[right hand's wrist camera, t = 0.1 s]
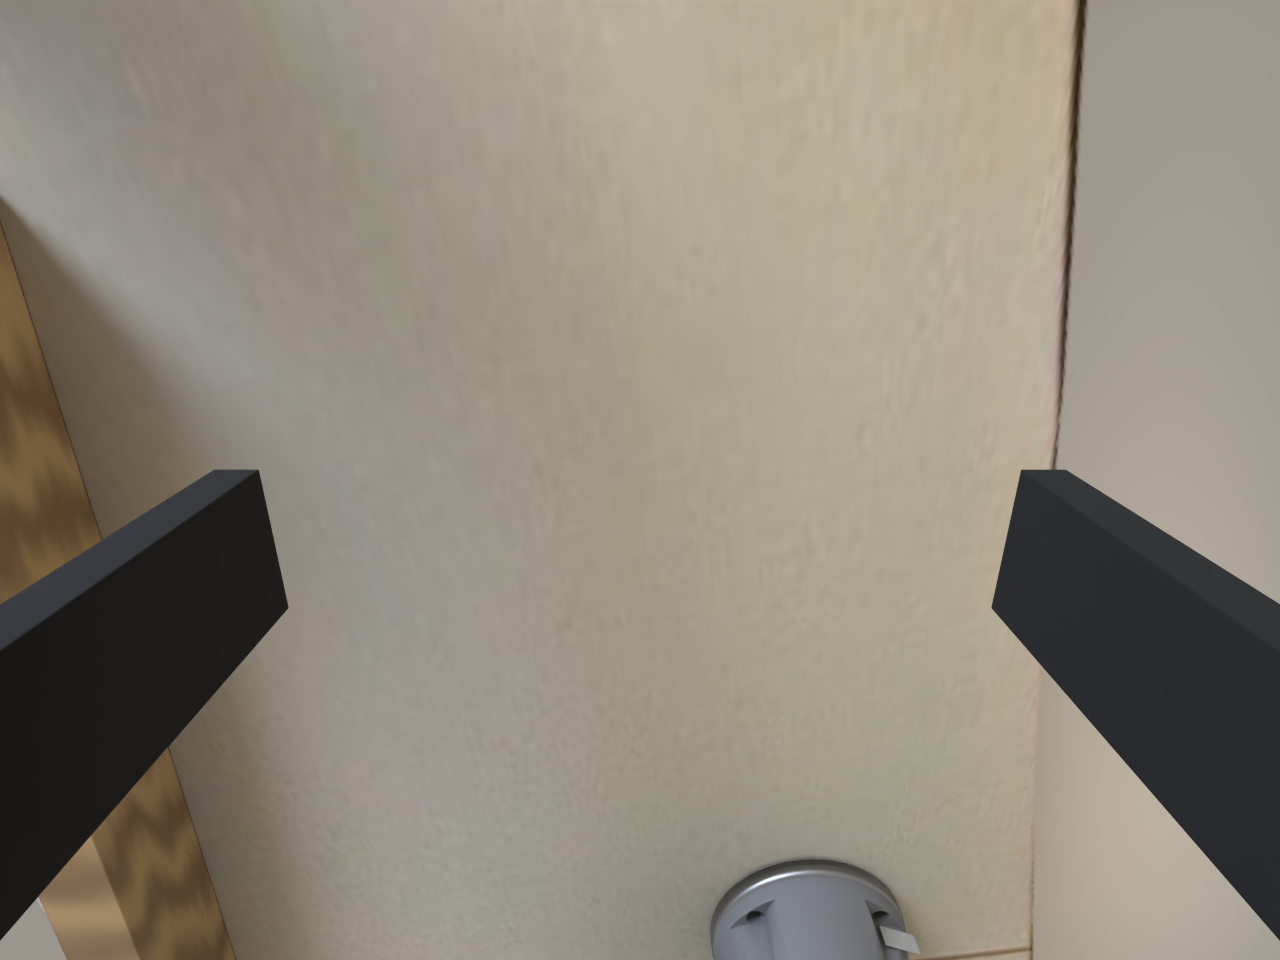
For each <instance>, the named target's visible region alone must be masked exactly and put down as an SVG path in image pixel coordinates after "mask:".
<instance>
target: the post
mask: <svg viewBox="0 0 1280 960" xmlns="http://www.w3.org/2000/svg"><path fill="white" fill-rule="evenodd" d="M100 541H102V540H101V536H100V533H99V530H98V527H97V524H96V521H95V518H94V515H93V511H92V508H91V505H90V502H89V499H88V496H87V493H86V490H85V486H84V483H83V480H82V477H81V474H80V471H79V468H78V465H77V461H76V458H75V455H74V452H73V449H72V446H71V443H70V440H69V436H68V433H67V430H66V427H65V424H64V421H63V418H62V415H61V411H60V408H59V405H58V402H57V399H56V396H55V393H54V390H53V386H52V383H51V380H50V377H49V374H48V371H47V368H46V365H45V361H44V358H43V355H42V352H41V349H40V346H39V343H38V340H37V336H36V333H35V330H34V327H33V324H32V321H31V318H30V315H29V311H28V308H27V305H26V302H25V299H24V296H23V293H22V290H21V286H20V283H19V280H18V277H17V274H16V271H15V268H14V265H13V261H12V258H11V255H10V252H9V249H8V246H7V243H6V239H5V236H4V233H3V230H2V227H1V224H0V604H2V603H3V602H5V601H6V600H8V599H9V598H11V597H13V596H14V595H16V594H17V593H19V592H21V591H22V590H24V589H25V588H27V587H29V586H30V585H32V584H33V583H35V582H37V581H38V580H40V579H41V578H43V577H44V576H46V575H48V574H49V573H51V572H52V571H54V570H56V569H57V568H59V567H60V566H62V565H64V564H65V563H67V562H68V561H70V560H72V559H73V558H75V557H76V556H78V555H79V554H81V553H83V552H84V551H86V550H87V549H89V548H91V547H92V546H94V545H95V544H97V543H99V542H100ZM38 897H39V899H40V901H41V903H42V906H43V908H44V910H45V912H46V914H47V917H48V919H49V921H50V923H51V925H52V928H53V930H54V932H55V934H56V936H57V939H58V941H59V943H60V945H61V947H62V950H63V952H64V954H65V956H66V958H67V960H236V958H235V955H234V952H233V949H232V946H231V943H230V940H229V937H228V933H227V930H226V927H225V924H224V921H223V918H222V915H221V912H220V908H219V905H218V902H217V899H216V896H215V893H214V890H213V887H212V883H211V880H210V877H209V874H208V871H207V868H206V865H205V862H204V858H203V855H202V852H201V849H200V846H199V843H198V840H197V837H196V833H195V830H194V827H193V824H192V821H191V818H190V815H189V812H188V808H187V805H186V802H185V799H184V796H183V793H182V790H181V787H180V783H179V780H178V777H177V774H176V771H175V768H174V765H173V762H172V758H171V755H170V752H169V749H168V747H167V749H166V750H165V751H164V752H163V753H162V754H161V756H160V757H159V758H158V759H157V760H156V761H155V762H154V764H153V765H152V766H151V767H150V768H149V769H148V771H147V772H146V773H145V774H144V775H143V776H142V777H141V779H140V780H139V781H138V782H137V783H136V784H135V786H134V787H133V788H132V789H131V790H130V791H129V792H128V794H127V795H126V796H125V797H124V798H123V799H122V801H121V802H120V803H119V804H118V805H117V806H116V807H115V809H114V810H113V811H112V812H111V813H110V814H109V816H108V817H107V818H106V819H105V820H104V821H103V822H102V824H101V825H100V826H99V827H98V828H97V829H96V831H95V832H94V833H93V834H92V835H91V836H90V837H89V839H88V840H87V841H86V842H85V843H84V844H83V846H82V847H81V848H80V849H79V850H78V851H77V852H76V854H75V855H74V856H73V857H72V858H71V859H70V861H69V862H68V863H67V864H66V865H65V866H64V867H63V869H62V870H61V871H60V872H59V873H58V874H57V876H56V877H55V878H54V879H53V880H52V881H51V882H50V884H49V885H48V886H47V887H46V888H45V889H44V891H43V892H42V893H41V894H40V895H39V896H38Z"/></svg>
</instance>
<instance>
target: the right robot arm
mask: <svg viewBox="0 0 1280 960" xmlns="http://www.w3.org/2000/svg"><path fill="white" fill-rule="evenodd" d="M287 609H288V603H287V599H286V594H285V589H284V585H283V580H282V575H281V571H280V566H279V561H278V557H277V552H276V548H275V543H274V538H273V534H272V529H271V524H270V520H269V515H268V510H267V506H266V501H265V497H264V492H263V487H262V483H261V478H260V473H259V470H213V471H212V472H210V473H208V474H207V475H205V476H204V477H202V478H200V479H199V480H197V481H196V482H194V483H192V484H191V485H189V486H188V487H186V488H185V489H183V490H181V491H180V492H178V493H177V494H175V495H173V496H172V497H170V498H169V499H167V500H165V501H164V502H162V503H161V504H159V505H157V506H156V507H154V508H153V509H151V510H150V511H148V512H146V513H145V514H143V515H142V516H140V517H138V518H137V519H135V520H134V521H132V522H130V523H129V524H127V525H126V526H124V527H122V528H121V529H119V530H118V531H116V532H115V533H113V534H111V535H110V536H108V537H107V538H105V539H103V540H102V541H100V542H99V543H97V544H95V545H94V546H92V547H91V548H89V549H87V550H86V551H84V552H83V553H81V554H79V555H78V556H76V557H75V558H73V559H72V560H70V561H68V562H67V563H65V564H64V565H62V566H60V567H59V568H57V569H56V570H54V571H52V572H51V573H49V574H48V575H46V576H44V577H43V578H41V579H40V580H38V581H37V582H35V583H33V584H32V585H30V586H29V587H27V588H25V589H24V590H22V591H21V592H19V593H17V594H16V595H14V596H13V597H11V598H9V599H8V600H6V601H5V602H3V603H2V604H0V940H1V939H2V938H3V937H4V936H5V934H6V933H7V932H8V931H9V930H10V929H11V927H12V926H13V925H14V924H15V923H16V922H17V920H18V919H19V918H20V917H21V916H22V915H23V914H24V912H25V911H26V910H27V909H28V908H29V907H30V906H31V904H32V903H33V902H34V901H35V900H36V899H37V897H38V896H39V895H40V894H41V893H42V892H43V891H44V889H45V888H46V887H47V886H48V885H49V884H50V882H51V881H52V880H53V879H54V878H55V877H56V876H57V874H58V873H59V872H60V871H61V870H62V869H63V867H64V866H65V865H66V864H67V863H68V862H69V861H70V859H71V858H72V857H73V856H74V855H75V854H76V852H77V851H78V850H79V849H80V848H81V847H82V846H83V844H84V843H85V842H86V841H87V840H88V839H89V837H90V836H91V835H92V834H93V833H94V832H95V831H96V829H97V828H98V827H99V826H100V825H101V824H102V822H103V821H104V820H105V819H106V818H107V817H108V816H109V814H110V813H111V812H112V811H113V810H114V809H115V807H116V806H117V805H118V804H119V803H120V802H121V801H122V799H123V798H124V797H125V796H126V795H127V794H128V792H129V791H130V790H131V789H132V788H133V787H134V786H135V784H136V783H137V782H138V781H139V780H140V779H141V777H142V776H143V775H144V774H145V773H146V772H147V771H148V769H149V768H150V767H151V766H152V765H153V764H154V762H155V761H156V760H157V759H158V758H159V757H160V756H161V754H162V753H163V752H164V751H165V750H166V749H167V747H168V746H169V745H170V744H171V743H172V742H173V741H174V739H175V738H176V737H177V736H178V735H179V734H180V732H181V731H182V730H183V729H184V728H185V727H186V726H187V724H188V723H189V722H190V721H191V720H192V719H193V717H194V716H195V715H196V714H197V713H198V712H199V711H200V709H201V708H202V707H203V706H204V705H205V704H206V702H207V701H208V700H209V699H210V698H211V697H212V696H213V694H214V693H215V692H216V691H217V690H218V689H219V687H220V686H221V685H222V684H223V683H224V682H225V681H226V679H227V678H228V677H229V676H230V675H231V674H232V672H233V671H234V670H235V669H236V668H237V667H238V666H239V664H240V663H241V662H242V661H243V660H244V659H245V657H246V656H247V655H248V654H249V653H250V652H251V651H252V649H253V648H254V647H255V646H256V645H257V644H258V642H259V641H260V640H261V639H262V638H263V637H264V636H265V634H266V633H267V632H268V631H269V630H270V629H271V627H272V626H273V625H274V624H275V623H276V622H277V621H278V619H279V618H280V617H281V616H282V615H283V614H284V612H285V611H286V610H287ZM992 609H993V610H994V611H995V612H996V614H997V615H998V616H999V617H1000V618H1001V619H1002V621H1003V622H1004V623H1005V624H1006V625H1007V626H1008V627H1009V629H1010V630H1011V631H1012V632H1013V633H1014V634H1015V636H1016V637H1017V638H1018V639H1019V640H1020V641H1021V642H1022V644H1023V645H1024V646H1025V647H1026V648H1027V649H1028V651H1029V652H1030V653H1031V654H1032V655H1033V656H1034V657H1035V659H1036V660H1037V661H1038V662H1039V663H1040V664H1041V666H1042V667H1043V668H1044V669H1045V670H1046V671H1047V672H1048V674H1049V675H1050V676H1051V677H1052V678H1053V679H1054V681H1055V682H1056V683H1057V684H1058V685H1059V686H1060V687H1061V689H1062V690H1063V691H1064V692H1065V693H1066V694H1067V696H1068V697H1069V698H1070V699H1071V700H1072V701H1073V702H1074V704H1075V705H1076V706H1077V707H1078V708H1079V709H1080V711H1081V712H1082V713H1083V714H1084V715H1085V716H1086V717H1087V719H1088V720H1089V721H1090V722H1091V723H1092V724H1093V726H1094V727H1095V728H1096V729H1097V730H1098V731H1099V732H1100V734H1101V735H1102V736H1103V737H1104V738H1105V739H1106V741H1107V742H1108V743H1109V744H1110V745H1111V746H1112V747H1113V749H1114V750H1115V751H1116V752H1117V753H1118V754H1119V756H1120V757H1121V758H1122V759H1123V760H1124V761H1125V762H1126V764H1127V765H1128V766H1129V767H1130V768H1131V769H1132V771H1133V772H1134V773H1135V774H1136V775H1137V776H1138V777H1139V779H1140V780H1141V781H1142V782H1143V783H1144V784H1145V786H1146V787H1147V788H1148V789H1149V790H1150V791H1151V792H1152V794H1153V795H1154V796H1155V797H1156V798H1157V799H1158V801H1159V802H1160V803H1161V804H1162V805H1163V806H1164V807H1165V809H1166V810H1167V811H1168V812H1169V813H1170V814H1171V816H1172V817H1173V818H1174V819H1175V820H1176V821H1177V822H1178V824H1179V825H1180V826H1181V827H1182V828H1183V829H1184V830H1185V832H1186V833H1187V834H1188V835H1189V836H1190V837H1191V839H1192V840H1193V841H1194V842H1195V843H1196V844H1197V846H1198V847H1199V848H1200V849H1201V850H1202V851H1203V852H1204V854H1205V855H1206V856H1207V857H1208V858H1209V859H1210V861H1211V862H1212V863H1213V864H1214V865H1215V866H1216V867H1217V869H1218V870H1219V871H1220V872H1221V873H1222V874H1223V876H1224V877H1225V878H1226V879H1227V880H1228V881H1229V882H1230V884H1231V885H1232V886H1233V887H1234V888H1235V889H1236V890H1237V892H1238V893H1239V894H1240V895H1241V896H1242V897H1243V899H1244V900H1245V901H1246V902H1247V903H1248V904H1249V906H1250V907H1251V908H1252V909H1253V910H1254V911H1255V912H1256V914H1257V915H1258V916H1259V917H1260V918H1261V919H1262V921H1263V922H1264V923H1265V924H1266V925H1267V926H1268V927H1269V929H1270V930H1271V931H1272V932H1273V933H1274V934H1275V936H1276V937H1277V938H1278V939H1279V940H1280V604H1278V603H1277V602H1275V601H1274V600H1272V599H1271V598H1269V597H1267V596H1266V595H1264V594H1263V593H1261V592H1259V591H1258V590H1256V589H1255V588H1253V587H1251V586H1250V585H1248V584H1247V583H1245V582H1243V581H1242V580H1240V579H1239V578H1237V577H1236V576H1234V575H1232V574H1231V573H1229V572H1228V571H1226V570H1224V569H1223V568H1221V567H1220V566H1218V565H1216V564H1215V563H1213V562H1212V561H1210V560H1208V559H1207V558H1205V557H1204V556H1202V555H1201V554H1199V553H1197V552H1196V551H1194V550H1193V549H1191V548H1189V547H1188V546H1186V545H1185V544H1183V543H1181V542H1180V541H1178V540H1177V539H1175V538H1173V537H1172V536H1170V535H1169V534H1167V533H1165V532H1164V531H1162V530H1161V529H1159V528H1158V527H1156V526H1154V525H1153V524H1151V523H1150V522H1148V521H1146V520H1145V519H1143V518H1142V517H1140V516H1138V515H1137V514H1135V513H1134V512H1132V511H1130V510H1129V509H1127V508H1126V507H1124V506H1122V505H1121V504H1119V503H1118V502H1116V501H1115V500H1113V499H1111V498H1110V497H1108V496H1107V495H1105V494H1103V493H1102V492H1100V491H1099V490H1097V489H1095V488H1094V487H1092V486H1091V485H1089V484H1088V483H1086V482H1084V481H1083V480H1081V479H1080V478H1078V477H1076V476H1075V475H1073V474H1072V473H1070V472H1068V471H1067V470H1021V473H1020V478H1019V483H1018V487H1017V492H1016V497H1015V501H1014V506H1013V510H1012V515H1011V520H1010V524H1009V529H1008V534H1007V538H1006V543H1005V548H1004V552H1003V557H1002V561H1001V566H1000V571H999V575H998V580H997V585H996V589H995V594H994V599H993V603H992ZM711 943H712V952H713V958H714V960H908V951H909V952H912V953H916V954H919V955H921V954H920V951H919V948H918V946H917V943H916V940H915V938H914V935H911V934H908V933H906V931H905V925H904V922H903V919H902V916H901V913H900V910H899V908H898V905H897V902H896V900H895V898H894V896H893V895H892V893H891V892H890V890H889V889H888V888H887V887H886V886H885V885H884V884H883V883H882V882H881V881H880V880H878V879H877V878H876V877H874V876H873V875H871V874H869V873H868V872H866V871H864V870H861V869H859V868H857V867H854V866H851V865H848V864H844V863H839V862H834V861H826V860H801V861H793V862H787V863H782V864H778V865H774V866H771V867H768V868H765V869H763V870H761V871H758V872H756V873H754V874H752V875H750V876H748V877H747V878H745V879H744V880H742V881H741V882H739V883H738V884H737V885H735V886H734V887H733V888H732V889H731V890H730V891H729V892H728V893H727V894H726V895H725V896H724V897H723V898H722V900H721V901H720V903H719V904H718V906H717V908H716V910H715V912H714V914H713V918H712V921H711Z"/></svg>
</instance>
